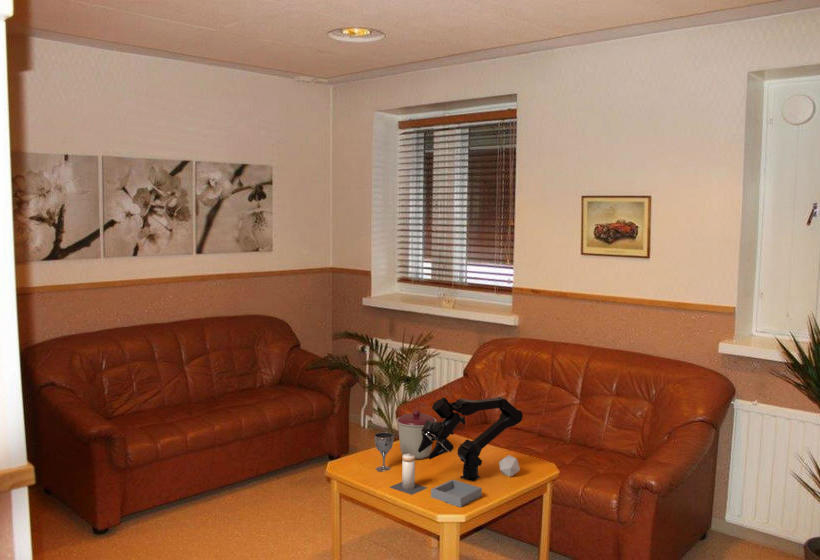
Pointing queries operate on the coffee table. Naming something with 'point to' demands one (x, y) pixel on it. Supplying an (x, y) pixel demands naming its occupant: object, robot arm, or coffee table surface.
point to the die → (509, 465)
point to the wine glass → (383, 447)
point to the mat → (413, 491)
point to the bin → (456, 493)
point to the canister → (413, 433)
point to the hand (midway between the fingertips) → (423, 455)
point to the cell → (408, 471)
